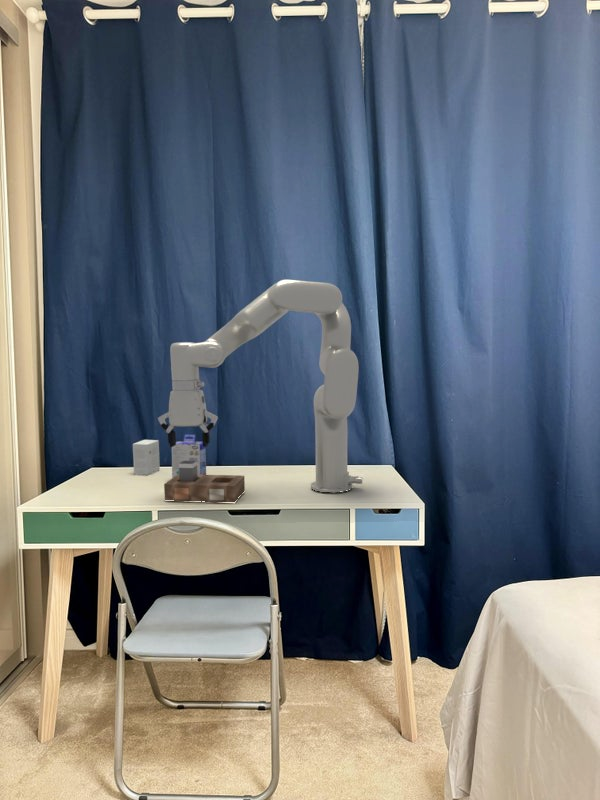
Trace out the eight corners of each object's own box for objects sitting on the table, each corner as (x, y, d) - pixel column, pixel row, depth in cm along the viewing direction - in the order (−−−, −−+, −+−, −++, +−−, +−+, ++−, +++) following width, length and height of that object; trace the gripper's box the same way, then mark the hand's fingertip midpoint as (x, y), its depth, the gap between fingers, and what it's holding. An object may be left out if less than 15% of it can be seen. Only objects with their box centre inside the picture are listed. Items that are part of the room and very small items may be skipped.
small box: (145, 469, 208) (144, 439, 207) (160, 470, 207) (159, 440, 206) (133, 474, 201) (132, 443, 199) (148, 475, 199) (147, 444, 198)
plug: (198, 494, 175) (197, 460, 173) (193, 498, 171) (192, 463, 170) (184, 494, 175) (183, 460, 174) (179, 498, 171) (178, 463, 170)
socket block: (244, 492, 177) (244, 475, 176) (234, 504, 165) (234, 486, 164) (179, 490, 179) (178, 474, 179) (164, 501, 167) (163, 484, 167)
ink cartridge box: (207, 478, 194) (206, 434, 192) (201, 482, 189) (200, 437, 187) (178, 477, 196) (177, 433, 194) (171, 481, 191) (170, 436, 189)
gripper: (219, 384, 172) (222, 443, 174) (161, 385, 174) (164, 443, 176) (212, 386, 164) (215, 448, 166) (151, 388, 167) (155, 448, 169)
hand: (189, 445), depth 171 cm, fingers open, 9 cm apart
